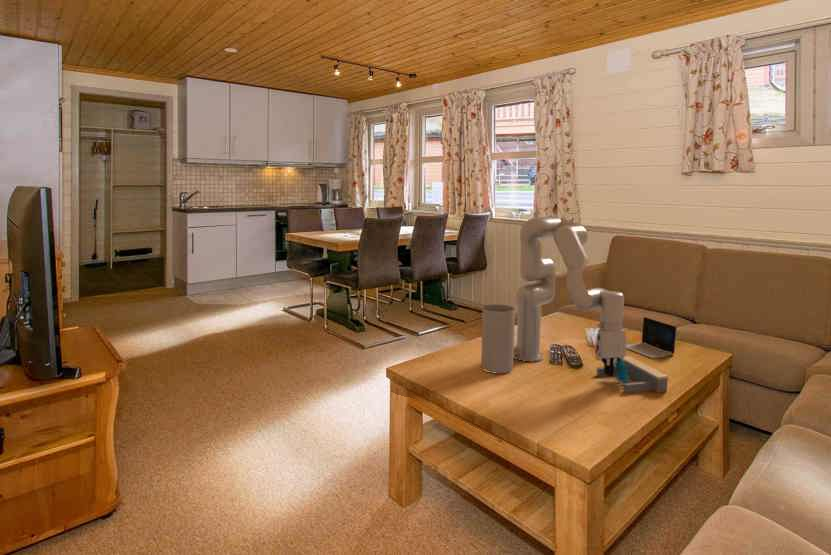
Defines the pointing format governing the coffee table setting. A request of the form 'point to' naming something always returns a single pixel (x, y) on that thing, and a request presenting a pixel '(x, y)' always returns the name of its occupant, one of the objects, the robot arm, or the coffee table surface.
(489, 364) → the cylinder vase
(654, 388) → the gear bay
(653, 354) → the laptop
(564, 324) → the coffee table surface
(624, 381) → the gear
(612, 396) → the coffee table surface
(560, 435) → the coffee table surface
